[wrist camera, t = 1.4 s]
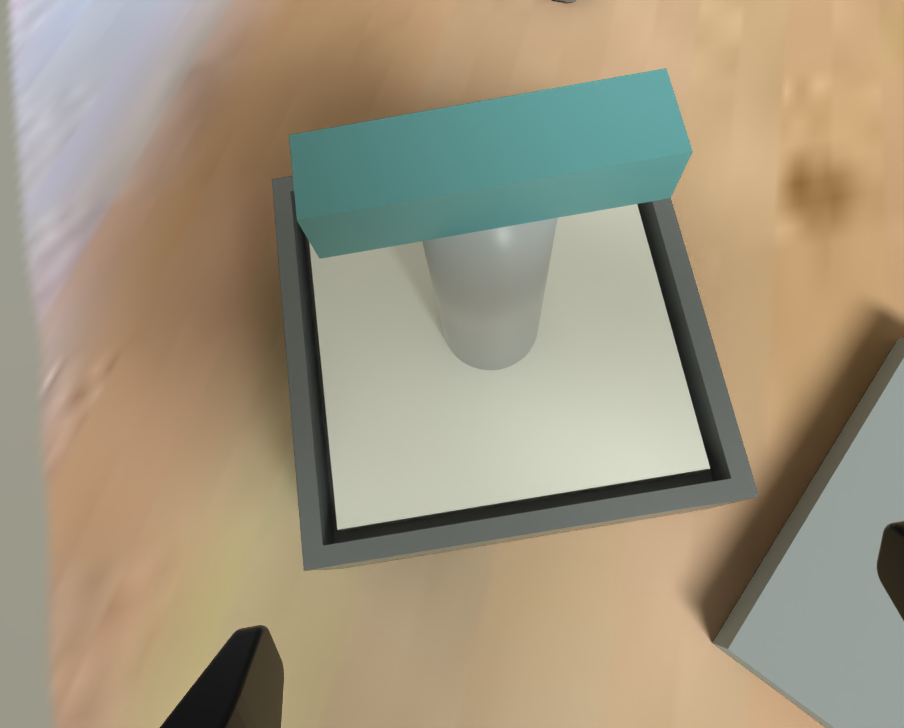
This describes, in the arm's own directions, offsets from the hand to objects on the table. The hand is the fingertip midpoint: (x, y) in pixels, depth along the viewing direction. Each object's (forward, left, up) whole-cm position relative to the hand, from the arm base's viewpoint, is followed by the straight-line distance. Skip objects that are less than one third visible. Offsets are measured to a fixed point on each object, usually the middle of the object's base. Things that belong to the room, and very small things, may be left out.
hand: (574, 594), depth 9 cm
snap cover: (+5, +6, -10) cm, 13 cm away
